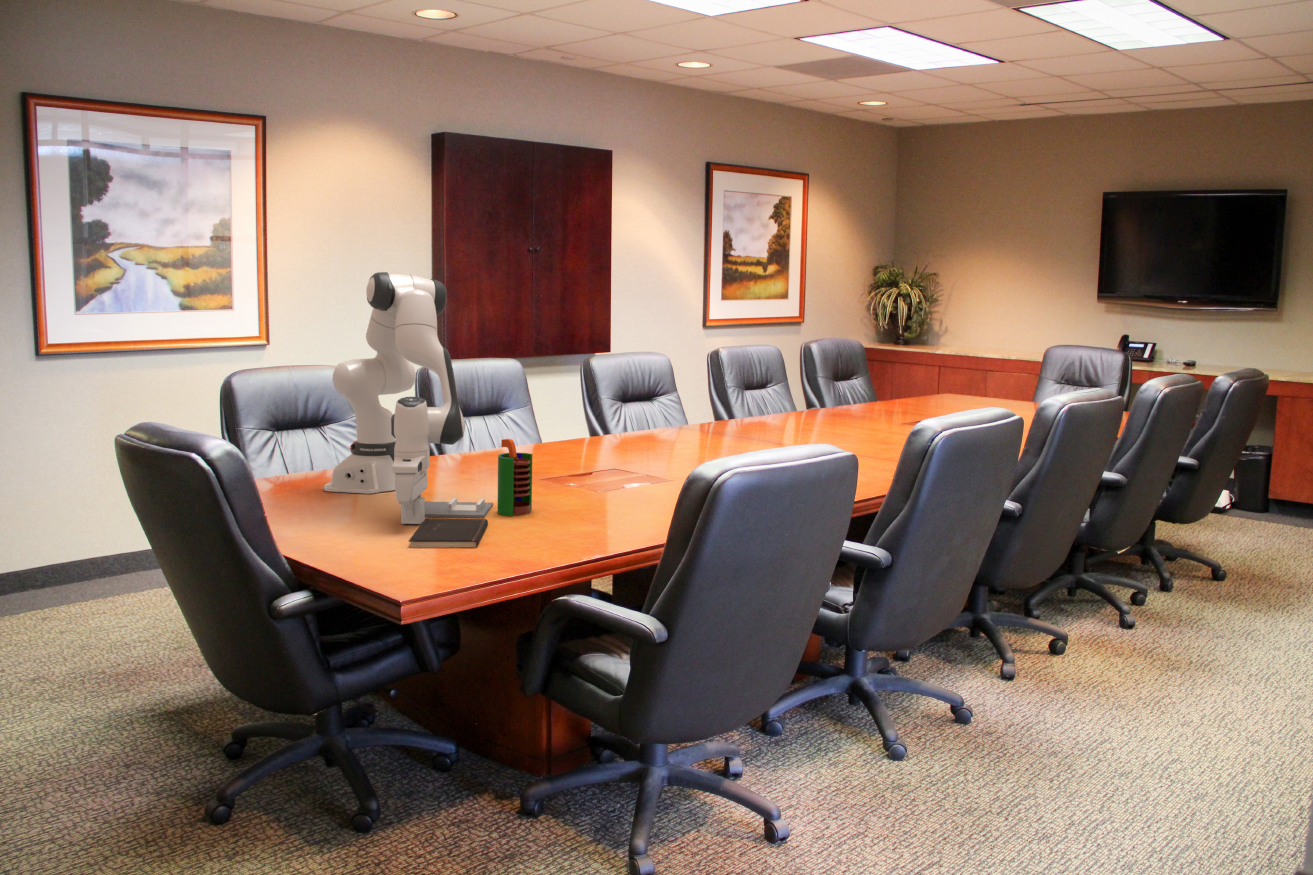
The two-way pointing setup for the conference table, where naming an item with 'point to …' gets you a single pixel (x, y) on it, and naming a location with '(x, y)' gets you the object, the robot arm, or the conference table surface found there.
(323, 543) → the conference table surface
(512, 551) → the conference table surface
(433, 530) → the hardcover book
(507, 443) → the motor
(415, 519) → the white cube with knob
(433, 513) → the mounting plate
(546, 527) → the conference table surface
